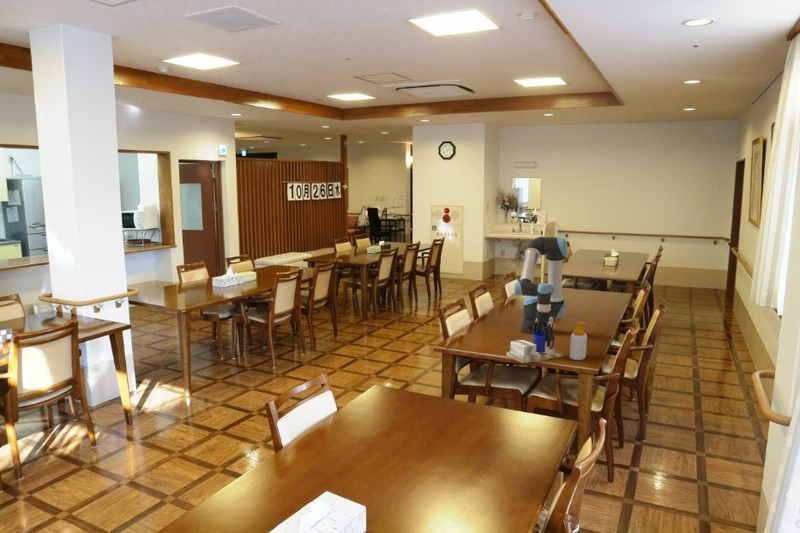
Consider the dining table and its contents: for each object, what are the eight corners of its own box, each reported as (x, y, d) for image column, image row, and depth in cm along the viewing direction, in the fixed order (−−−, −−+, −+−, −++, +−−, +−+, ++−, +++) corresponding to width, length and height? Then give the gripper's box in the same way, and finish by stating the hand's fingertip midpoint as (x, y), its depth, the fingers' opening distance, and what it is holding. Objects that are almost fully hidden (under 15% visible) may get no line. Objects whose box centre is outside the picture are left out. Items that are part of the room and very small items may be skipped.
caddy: (544, 349, 324) (545, 334, 323) (562, 356, 311) (563, 341, 310) (506, 355, 312) (506, 340, 311) (523, 363, 299) (524, 347, 297)
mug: (554, 354, 308) (555, 336, 306) (532, 353, 310) (533, 335, 308) (553, 350, 316) (554, 333, 314) (531, 349, 318) (532, 332, 316)
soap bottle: (582, 361, 302) (584, 325, 299) (567, 358, 307) (569, 323, 304) (588, 355, 314) (590, 320, 311) (573, 352, 318) (575, 318, 315)
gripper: (526, 307, 317) (525, 346, 321) (551, 315, 299) (549, 355, 303) (536, 306, 321) (535, 344, 324) (561, 314, 303) (559, 354, 306)
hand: (541, 349), depth 313 cm, fingers closed on mug, 8 cm apart
